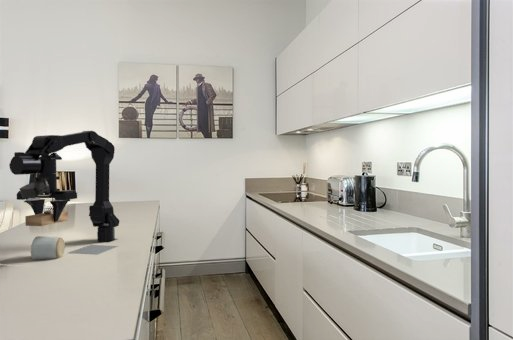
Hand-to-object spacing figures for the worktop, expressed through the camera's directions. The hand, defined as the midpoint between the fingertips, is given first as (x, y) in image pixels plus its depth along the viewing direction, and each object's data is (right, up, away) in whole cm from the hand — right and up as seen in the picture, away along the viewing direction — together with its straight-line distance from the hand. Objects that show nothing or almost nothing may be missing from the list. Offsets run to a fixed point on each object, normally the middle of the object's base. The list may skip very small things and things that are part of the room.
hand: (47, 221), depth 116 cm
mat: (+10, -12, +10) cm, 19 cm away
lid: (0, -1, 0) cm, 1 cm away
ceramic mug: (0, -13, +1) cm, 13 cm away
